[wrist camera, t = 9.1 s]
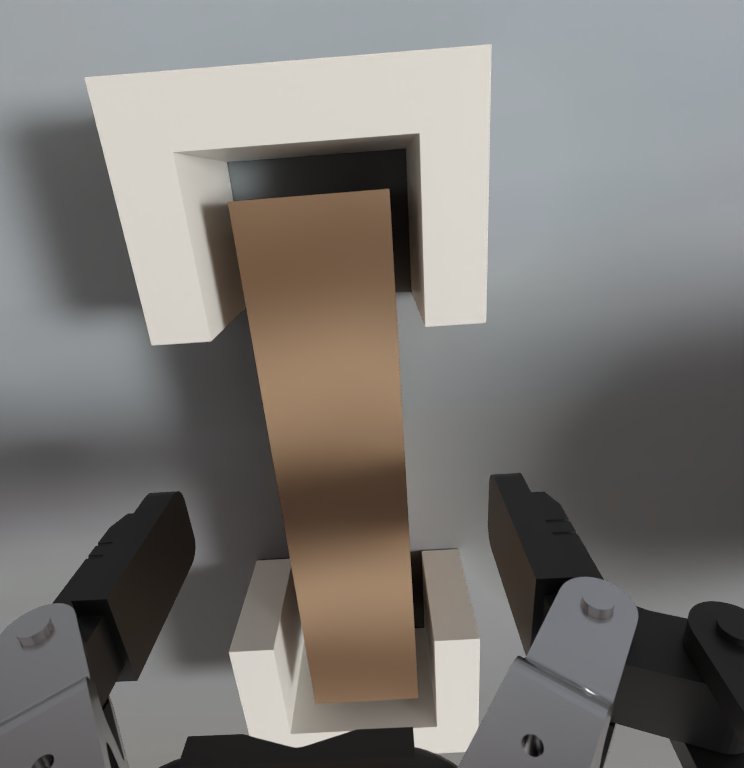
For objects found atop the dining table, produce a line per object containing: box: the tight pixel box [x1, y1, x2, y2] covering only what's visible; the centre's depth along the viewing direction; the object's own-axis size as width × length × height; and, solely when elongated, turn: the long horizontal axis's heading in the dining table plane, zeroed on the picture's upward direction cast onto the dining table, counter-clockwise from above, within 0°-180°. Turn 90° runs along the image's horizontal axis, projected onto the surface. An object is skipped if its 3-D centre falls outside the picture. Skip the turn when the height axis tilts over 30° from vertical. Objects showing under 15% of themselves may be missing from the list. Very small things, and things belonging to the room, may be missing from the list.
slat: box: [228, 189, 418, 704], centre depth 15 cm, size 16×4×4 cm, turn 4°
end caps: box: [85, 44, 491, 753], centre depth 15 cm, size 21×8×4 cm, turn 4°
